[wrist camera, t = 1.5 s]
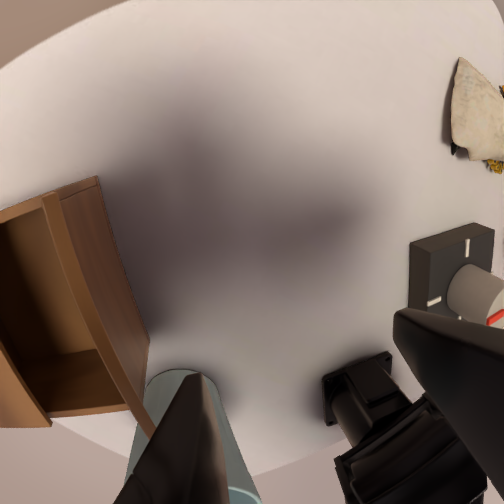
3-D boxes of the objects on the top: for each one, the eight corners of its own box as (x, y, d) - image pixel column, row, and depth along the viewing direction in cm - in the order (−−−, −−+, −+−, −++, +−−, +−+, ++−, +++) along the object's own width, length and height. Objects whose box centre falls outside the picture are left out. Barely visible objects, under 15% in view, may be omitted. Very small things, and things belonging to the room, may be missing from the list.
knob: (480, 258, 21) (523, 279, 17) (475, 301, 22) (513, 325, 18) (448, 271, 21) (493, 297, 16) (444, 317, 22) (483, 346, 17)
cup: (238, 420, 24) (266, 527, 14) (148, 432, 23) (147, 539, 13) (226, 349, 21) (257, 474, 12) (119, 363, 20) (96, 486, 11)
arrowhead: (468, 184, 18) (427, 51, 17) (453, 183, 21) (416, 61, 19) (536, 167, 17) (501, 51, 16) (520, 167, 20) (487, 58, 18)
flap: (44, 194, 10) (53, 191, 10) (139, 418, 13) (146, 414, 14) (39, 197, 5) (56, 191, 6) (189, 495, 9) (198, 490, 9)
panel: (468, 302, 26) (486, 313, 23) (405, 331, 25) (423, 348, 22) (475, 220, 23) (497, 228, 20) (408, 241, 22) (431, 252, 19)
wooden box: (97, 175, 16) (46, 192, 10) (150, 339, 20) (142, 419, 13) (-35, 226, 15) (-100, 262, 8) (24, 363, 19) (-11, 428, 12)
